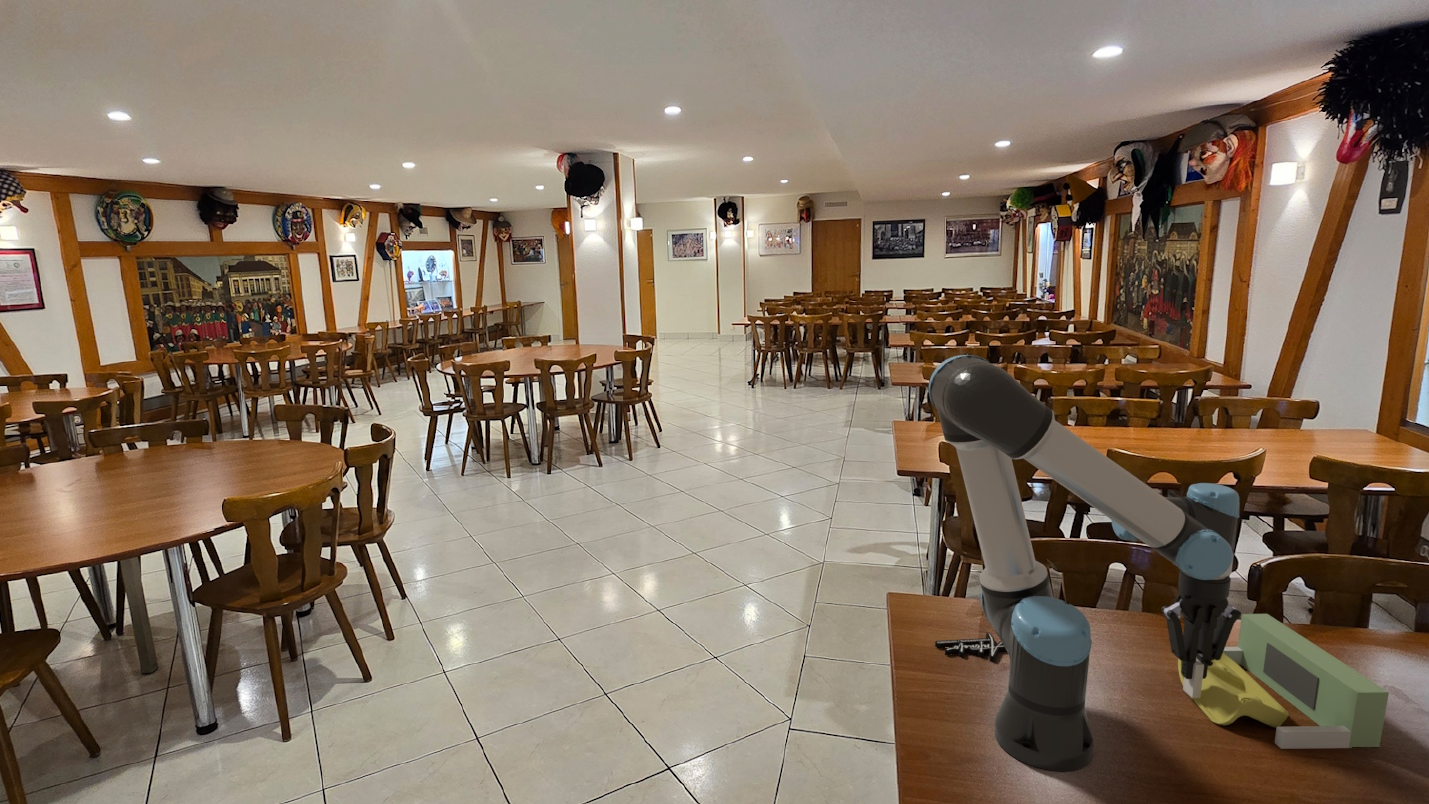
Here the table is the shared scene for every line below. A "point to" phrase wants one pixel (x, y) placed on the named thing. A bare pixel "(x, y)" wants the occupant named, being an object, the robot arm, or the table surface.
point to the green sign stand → (1311, 686)
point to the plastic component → (1235, 695)
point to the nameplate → (973, 647)
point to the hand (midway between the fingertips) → (1191, 693)
